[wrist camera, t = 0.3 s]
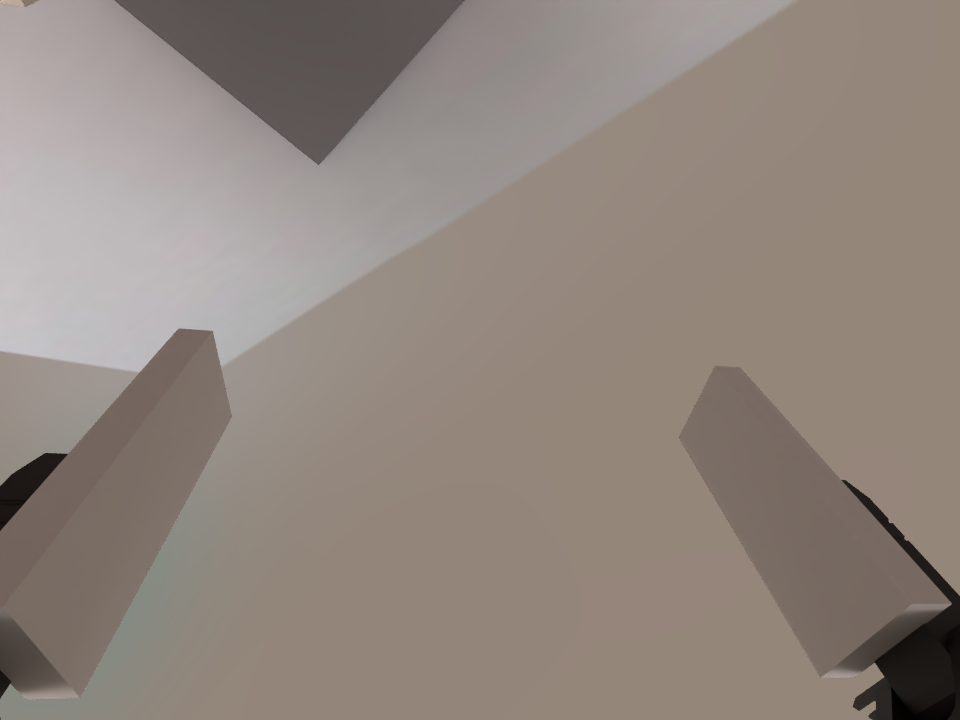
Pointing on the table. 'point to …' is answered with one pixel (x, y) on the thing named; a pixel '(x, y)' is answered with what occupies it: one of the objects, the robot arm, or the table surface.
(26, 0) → the cream flat block
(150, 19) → the slate board
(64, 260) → the table surface
